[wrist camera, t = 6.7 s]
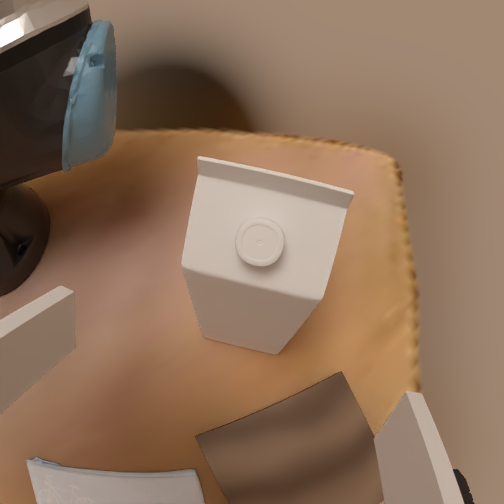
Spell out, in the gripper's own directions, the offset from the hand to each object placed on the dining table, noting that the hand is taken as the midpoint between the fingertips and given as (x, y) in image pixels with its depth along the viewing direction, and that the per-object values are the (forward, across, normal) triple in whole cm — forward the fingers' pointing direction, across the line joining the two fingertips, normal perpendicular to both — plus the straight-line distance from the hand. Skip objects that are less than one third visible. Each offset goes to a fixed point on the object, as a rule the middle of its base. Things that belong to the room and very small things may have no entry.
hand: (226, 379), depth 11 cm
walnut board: (+9, +8, -16) cm, 20 cm away
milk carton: (+19, 0, -6) cm, 20 cm away
